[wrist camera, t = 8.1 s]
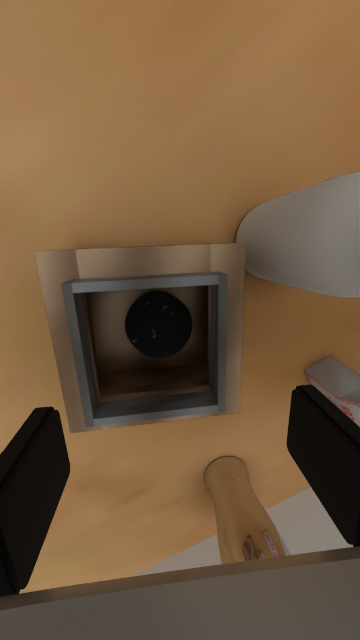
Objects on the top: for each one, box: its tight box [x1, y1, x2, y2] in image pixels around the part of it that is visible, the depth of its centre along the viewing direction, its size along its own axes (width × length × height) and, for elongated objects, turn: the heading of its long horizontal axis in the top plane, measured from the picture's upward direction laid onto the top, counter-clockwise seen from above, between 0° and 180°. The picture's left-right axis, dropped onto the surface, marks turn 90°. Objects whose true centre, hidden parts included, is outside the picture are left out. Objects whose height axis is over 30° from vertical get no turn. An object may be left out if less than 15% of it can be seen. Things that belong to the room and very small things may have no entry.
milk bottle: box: [236, 171, 360, 298], centre depth 17 cm, size 8×8×20 cm
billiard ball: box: [125, 291, 193, 358], centre depth 23 cm, size 6×6×6 cm
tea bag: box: [304, 356, 360, 427], centre depth 28 cm, size 4×7×10 cm, turn 30°
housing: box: [35, 243, 245, 433], centre depth 22 cm, size 14×14×11 cm
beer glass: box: [204, 456, 291, 564], centre depth 28 cm, size 7×7×15 cm
